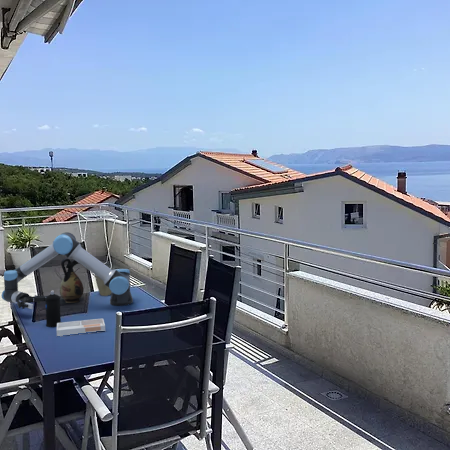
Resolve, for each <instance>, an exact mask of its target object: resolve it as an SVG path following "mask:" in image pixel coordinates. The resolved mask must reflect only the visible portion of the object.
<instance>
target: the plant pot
mask: <svg viewBox="0 0 450 450" xmlns="http://www.w3.org/2000/svg"><path fill="white" fill-rule="evenodd" d="M94 278H95V282H96V287H97V291H98V292H99V295H100V296H102V297H108V295H109V296H111V295H112V292H111V290H110V288H109V287H107V286H106V285H105V284H104V281H103V280H102V279H100V278H99V277H98V276H96V275H95V274H94Z"/></svg>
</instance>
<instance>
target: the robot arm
mask: <svg viewBox="0 0 450 450" xmlns="http://www.w3.org/2000/svg"><path fill="white" fill-rule="evenodd" d="M58 255H63V256H64V257H65V258H67V259H72V260H76V261H77V262H78V264H80V265H82V266H83V268H85V269H86V270H88V271H89V272H91V273H92V274H93V275H94V276H95V275H96V276H98V277H99V278H100V279H102V280H103V281H104V284H105V285H106V286H107V287H109V288H110V290H111V292H112V293H111V295H110V298H109V304H110V305H111V306H116V307H123V306H124V305H125V306H129V305H132V304H133V303H134V298H133V296H132V293H131V282H130V281H131V279H130V278H131V277H130V275H131V270H130V269H128V268H115V269H114V268H113V269H111V268H110V267H109V266H108V265H106V264H105V263H104V262H102V261H100V260H99V259H98V258H97V257H95V256H94V255H92V254H91V253H89V252H88V251H87V250H86V249H84V248H83V247H82V246H81V243H80V242H79V241H77V239H76V236H75V235H74V234H73V233H71V232H63V233H60V234H59V235H57V236H56V237H55V238H54V240H53V241H52V243H51V244H50V245H49V246H48V247H46V248H44V249H43V250H41V251H40V252H39V253H37V254H36V255H34V256H32V258H30V259H29V260H27V261H26V262H25V263H23V264H21V265H20V266H19V267H17V268H15V269H13V270H12V269H10V270H5V271H4V273H3V282H4V283H3V284H4V290H3V291H2V292H1V298H2V300H3V301H5V302H7V303H12V304H15V306H16V305H17V307H18V309H22V310H23V309H25V308H26V309H30V310H34V304H33V303H37V302H46V300H45V298H46V297H47V296H48V295H36V294H35V295H34V296H31V295H30V294H29V293H27V292H23V291H19V285H18V284H19V282H21V281H22V280H23V279H25V278H26V277H28V276H29V275H31V274H32V273H34V271H36V270H38V269H39V268H41V267H42V266H44V265H45V264H46V263H48V262H49V261H51V260H52V259H54V258H55V257H57V256H58ZM131 303H132V304H131ZM128 304H129V305H128ZM125 306H124V307H125Z"/></svg>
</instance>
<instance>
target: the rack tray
mask: <svg viewBox="0 0 450 450" xmlns="http://www.w3.org/2000/svg"><path fill="white" fill-rule="evenodd" d="M96 331H105V332H106V324H105V320H104V318H94V319H92V318H91V319H84V320H73V321H64V322H62V321H61V323H57V327H56V337H57V336H60V337H64V336H63V335H70V334H78V333H86V332H96ZM70 336H71V335H70Z"/></svg>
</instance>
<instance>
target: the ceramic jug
mask: <svg viewBox="0 0 450 450" xmlns="http://www.w3.org/2000/svg"><path fill="white" fill-rule="evenodd" d="M60 262H61V268H62V269H61V270H62V271H63V273H64V277H63V278H62V280H61V282H60V286H59V295H60V298H62V299H63V300H64V302H65V304H67V303H68V304H74V303H75V304H77V303H79V302H80V300H81V298H82V296H83V294H84V292H85V291H84V289H85V288H84V285H83V282H82V280H81V278H80V276H78V274H76V272H75V271H74V267H75V266H77V265H78V264H79V263H78V262H77V261H76V260H74V259H71V258H67V257H65V258H62V260H61V261H60ZM65 263H67V264H66V266H65Z"/></svg>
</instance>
